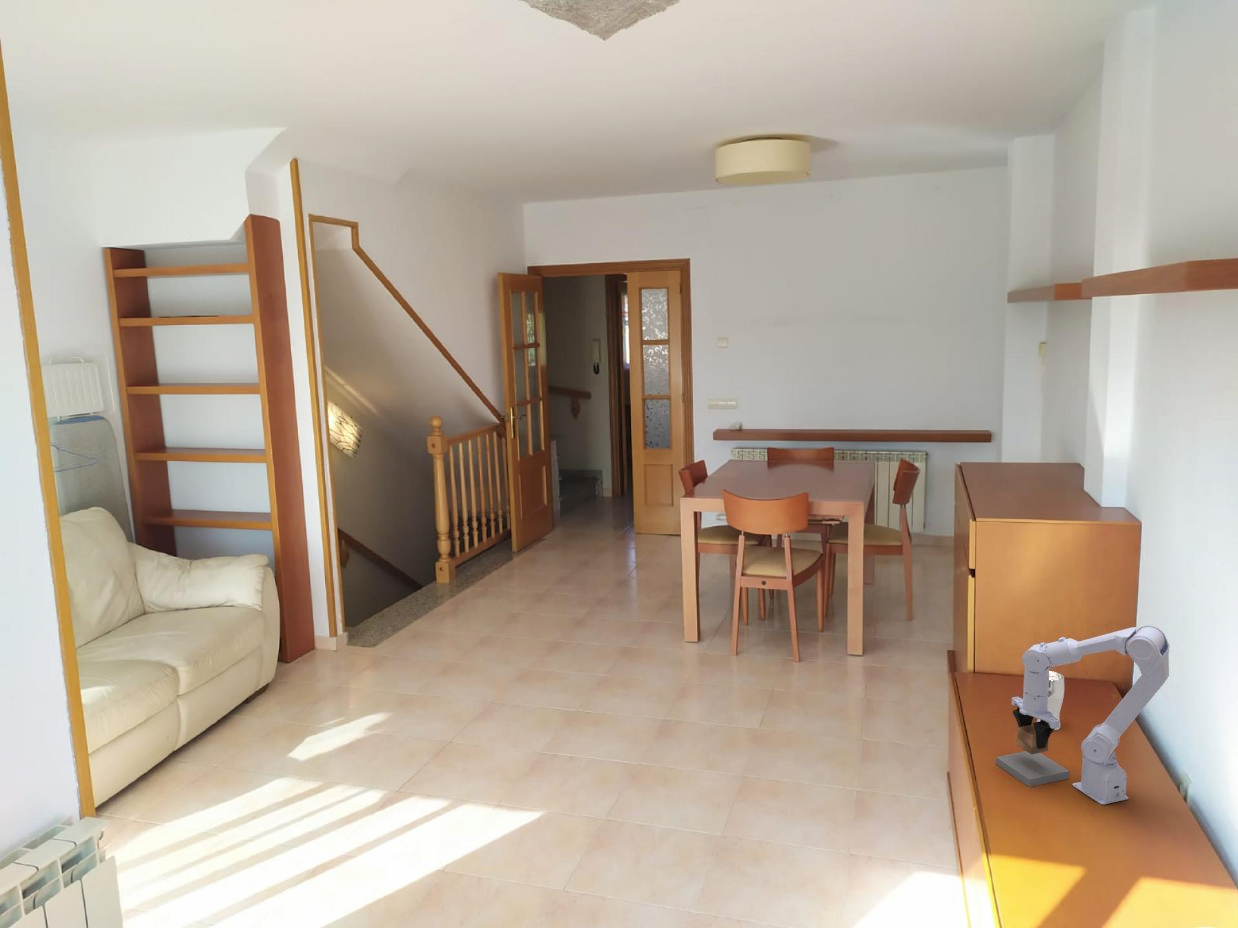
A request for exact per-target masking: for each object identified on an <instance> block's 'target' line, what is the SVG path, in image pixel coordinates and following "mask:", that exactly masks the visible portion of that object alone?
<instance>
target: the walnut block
mask: <svg viewBox="0 0 1238 928" xmlns="http://www.w3.org/2000/svg"><path fill="white" fill-rule="evenodd" d="M1016 746H1017V747H1019V748H1020V749H1022V750H1024V751H1027V752H1028V753H1030V754H1031V755H1032V754H1036V753H1041V754H1042V753H1044V752H1045V753H1046V752H1048V751H1049V741H1048V742H1047V744H1046V747H1045V748H1041V749H1038V748H1037V745H1036V732H1035V728H1034V725H1033V723H1032V725H1027V726H1022V727H1019V726H1018V728H1017V743H1016Z"/></svg>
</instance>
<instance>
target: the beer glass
mask: <svg viewBox="0 0 1238 928" xmlns="http://www.w3.org/2000/svg"><path fill="white" fill-rule="evenodd" d="M1064 696H1065V676H1064V675H1063V674H1062V673H1060V672H1057V671H1052V670H1049V691H1048V710H1049V711H1050V712H1051V713H1052V714H1053V715H1054V717H1055V718H1057V719H1058V720H1060V712H1061V709H1062V705H1063V701H1064V698H1065V697H1064ZM1036 722H1040V719H1038V718H1036ZM1060 728H1061V722H1060V721H1059V728H1055V729H1054V730H1053V731H1057V730H1060Z"/></svg>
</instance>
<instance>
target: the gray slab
mask: <svg viewBox="0 0 1238 928" xmlns="http://www.w3.org/2000/svg"><path fill="white" fill-rule="evenodd" d="M995 759H996V760H995V765H996V766H998V767H999V768H1001V769H1002V770H1004V771H1005V772H1006V773H1008V774H1009V775H1010V776H1013V777H1014V778H1016V779H1017V780H1018V781H1020V782H1021V783H1023V784H1024V785H1025V786H1027V787H1028V788H1031V787H1037V786H1041V785H1045V784H1050V783H1055V782H1060V781H1063V780H1065V781H1066V780H1068V779H1070V770H1068V769H1067V768H1065V767H1063V766H1061V765H1060V764H1059V763H1057V762H1055V761H1054V760H1052V759H1051V758H1049V757H1047V756H1046V755H1044V754H1043V753H1042V752H1041V753H1036V754H1032V755H1031V754H1030V753H1028V752H1027V751H1025V750H1024V751H1021V752H1015V753H1011V754H1005V755H1000V756H996V758H995Z"/></svg>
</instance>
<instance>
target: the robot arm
mask: <svg viewBox="0 0 1238 928" xmlns="http://www.w3.org/2000/svg"><path fill="white" fill-rule="evenodd" d="M1109 651H1116V652H1117V653H1119V654H1121V655H1123V656H1124V657H1125V656H1127V654H1128V656H1129V657H1130V658H1131V659H1132V661H1133V662H1134V663H1135V664H1136V665H1137V667H1138V669H1139V671H1140V674H1141V676H1140V677H1139V678H1138V679H1137V680H1136V681H1135V683H1134V684H1133V685H1132V687H1131V688H1130V689H1129V690H1128V691H1127V692H1126V694H1125V695H1124V697H1123V698H1122V699H1121V700H1120V701H1119V702H1118V704H1117V706H1115V708H1114V709H1113V710H1112V711H1111V712H1110V714H1109V715H1108V716H1107V718H1106V719H1105V720H1104V721H1103V722H1102V723H1100V724H1097V725H1095V726H1093V727H1092V729H1091V731H1090V733H1089V734H1088V735H1087V737H1086V738H1085V739H1083V740H1082V742H1081V744H1080V748H1081V754H1082V762H1081V763H1082V764H1081V765H1082V766H1081V780H1080V781H1079V782H1074V783H1072V784H1071V785H1072V786H1073V787H1074V788H1076V789H1077V790H1079V791H1080V792H1081V793H1083V794H1085V795H1086V796H1087V797H1089V798H1091V799H1092V800H1094V801H1096V803H1098V804H1100V805H1107V804H1111V803H1112V804H1113V803H1116V802H1120V801H1126V800H1128V799H1129V797H1128V795H1127V784H1128V783H1127V782H1128V774H1127V772H1126V770H1125V769H1123V768H1122V767H1121V766H1120V764H1119V763H1118V761H1117V760H1118V758H1117V755H1116V752H1115V749H1117V747H1118V746H1119V744H1120V737H1122V735H1123V734H1124V733H1125V731H1126V730H1127V729H1128V728H1129V726H1131V724H1132V723H1133V721H1135V719H1136V718H1137V717H1138V716H1139V714H1140V713H1141V712H1142V711H1143V710H1144V708H1145V707H1146V706H1147V704H1148V703H1149V702H1150V701H1151V700H1152V698H1154V696H1155V695H1156V693H1158V691H1159V690H1160V689H1161V687H1163V685H1164V684H1165V683H1166V681H1168V678H1169V676H1170V665H1169V664H1170V662H1169V661H1170V660H1169V658H1170V657H1169V654H1170V643H1169V641H1168V639H1167V636H1166V634H1165V633H1164V632H1163V630H1161V629H1160V628H1159V627H1157V626H1154V625H1152V624H1151V625H1149V624H1148V625H1147V624H1146V625H1142V626H1140V627H1139V628H1138V626H1135V627H1129V628H1128V627H1127V628H1124V629H1120V630H1117V631H1113V632H1109V633H1106V634H1102V635H1098V636H1094V637H1091V638H1088V639H1084V640H1081V641H1080V640H1079V641H1078V640H1075V639H1074V638H1071V637H1069V638H1066V637H1065V636H1062V637H1060V638H1058V640H1057V641H1052V642H1047V643H1046V642H1040V643H1037V644H1033V645H1032V646H1031V647H1030V648H1028V649H1027V650H1025V652H1024V653H1023V655H1022V657H1021V662H1022V665H1023V666H1024V673H1023V691H1022V692H1023V693H1022V694H1023V695H1022V697H1019V696H1014V697H1011V705H1012V706H1013V707H1016V709H1013V710H1012V715H1013V716H1014V717H1015V720H1016V723H1017V726H1018V727H1022V726H1027V725H1032V724H1033V725H1034V728H1035V732H1036V745H1037V748H1038V749H1041V748H1045V747H1046V744H1047V742H1048V743H1049V739H1050V737H1051V735H1052V733H1053V732H1054V731H1055V730H1054V729H1055V728H1059V721H1060V719H1059V720H1058V719H1057V718H1055V717H1054V715H1053V714H1052V713H1051V712H1050V711H1049V710H1048V691H1049V671H1050V667H1051V668H1054V667H1059V666H1063V665H1068V664H1072V663H1077V662H1080V661H1081V660H1082V657H1083V656H1086V655H1093V654H1097V653H1103V652H1109ZM1034 718H1035V719H1040V722H1037V721H1035V722H1033V720H1034Z"/></svg>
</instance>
